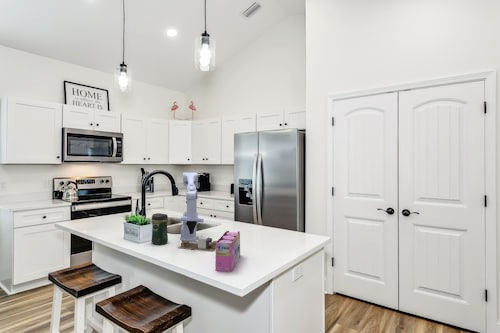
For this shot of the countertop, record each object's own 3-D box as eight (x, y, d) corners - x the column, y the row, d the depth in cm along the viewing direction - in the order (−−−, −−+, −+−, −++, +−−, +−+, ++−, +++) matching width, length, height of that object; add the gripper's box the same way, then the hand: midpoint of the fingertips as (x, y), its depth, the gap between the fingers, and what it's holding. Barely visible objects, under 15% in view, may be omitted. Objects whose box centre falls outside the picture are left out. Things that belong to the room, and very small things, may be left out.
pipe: (181, 244, 172) (181, 240, 172) (183, 243, 174) (183, 239, 174) (214, 247, 167) (214, 243, 167) (215, 246, 169) (215, 242, 169)
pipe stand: (178, 248, 169) (178, 241, 169) (185, 244, 177) (185, 237, 177) (213, 251, 163) (213, 243, 163) (218, 246, 172) (218, 239, 172)
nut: (205, 248, 166) (205, 240, 166) (209, 246, 172) (209, 238, 171) (208, 248, 166) (208, 240, 166) (211, 246, 171) (211, 238, 171)
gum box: (226, 254, 158) (227, 230, 158) (241, 255, 157) (241, 230, 157) (214, 271, 134) (215, 242, 134) (231, 272, 133) (231, 243, 133)
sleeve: (197, 248, 168) (197, 238, 168) (201, 245, 173) (201, 236, 173) (205, 248, 166) (205, 238, 166) (209, 246, 171) (209, 236, 171)
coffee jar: (170, 242, 180) (170, 213, 180) (160, 246, 173) (160, 215, 173) (158, 240, 185) (158, 211, 184) (149, 243, 178) (149, 213, 177)
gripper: (177, 211, 169) (177, 234, 169) (200, 212, 165) (200, 236, 166) (183, 209, 176) (182, 231, 176) (205, 210, 172) (204, 233, 173)
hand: (191, 233), depth 171 cm, fingers closed
